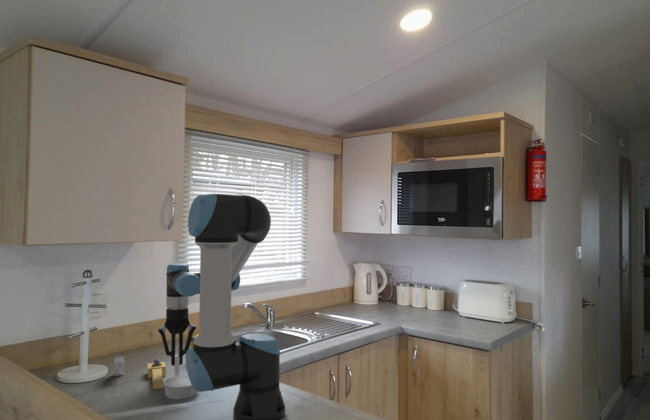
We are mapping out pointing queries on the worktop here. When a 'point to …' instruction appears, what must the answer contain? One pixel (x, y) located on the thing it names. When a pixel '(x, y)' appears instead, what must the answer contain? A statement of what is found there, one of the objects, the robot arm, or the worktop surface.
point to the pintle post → (156, 362)
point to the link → (157, 374)
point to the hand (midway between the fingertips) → (176, 374)
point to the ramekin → (179, 387)
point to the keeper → (119, 366)
